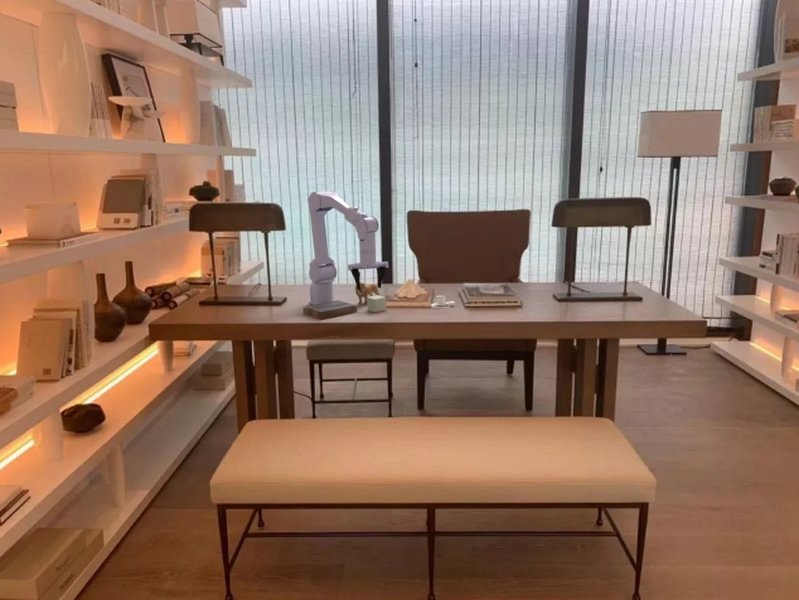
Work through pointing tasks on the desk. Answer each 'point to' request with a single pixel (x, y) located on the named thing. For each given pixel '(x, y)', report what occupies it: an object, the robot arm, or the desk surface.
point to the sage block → (376, 303)
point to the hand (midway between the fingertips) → (368, 288)
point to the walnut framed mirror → (329, 309)
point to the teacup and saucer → (442, 302)
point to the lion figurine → (366, 291)
